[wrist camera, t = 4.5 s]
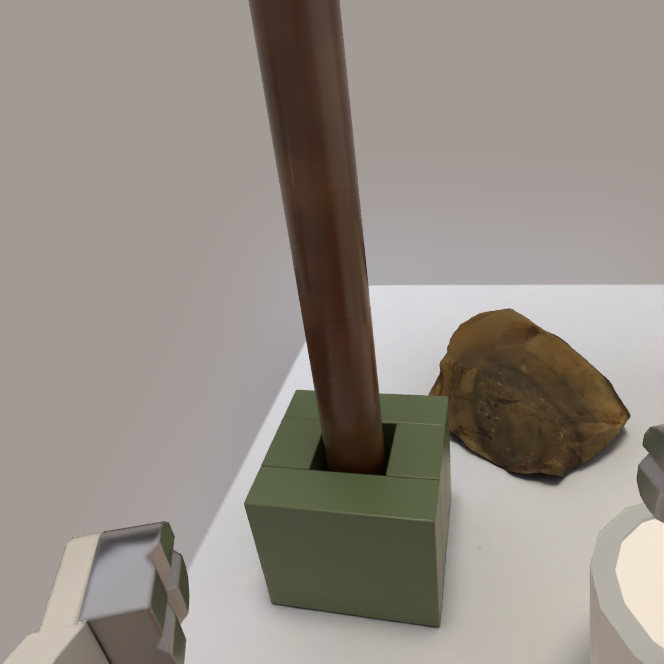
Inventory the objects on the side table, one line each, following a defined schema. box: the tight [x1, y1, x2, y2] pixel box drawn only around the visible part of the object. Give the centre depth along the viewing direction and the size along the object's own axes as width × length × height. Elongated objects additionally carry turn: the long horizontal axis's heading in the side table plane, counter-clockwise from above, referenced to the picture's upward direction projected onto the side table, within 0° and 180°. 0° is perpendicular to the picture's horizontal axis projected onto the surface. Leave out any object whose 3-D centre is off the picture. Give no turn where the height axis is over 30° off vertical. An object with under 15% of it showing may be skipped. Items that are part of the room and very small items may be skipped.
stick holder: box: [244, 390, 451, 627], centre depth 25 cm, size 7×7×6 cm
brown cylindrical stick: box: [249, 0, 387, 476], centre depth 21 cm, size 2×2×24 cm
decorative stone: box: [429, 308, 630, 477], centre depth 33 cm, size 10×9×4 cm
